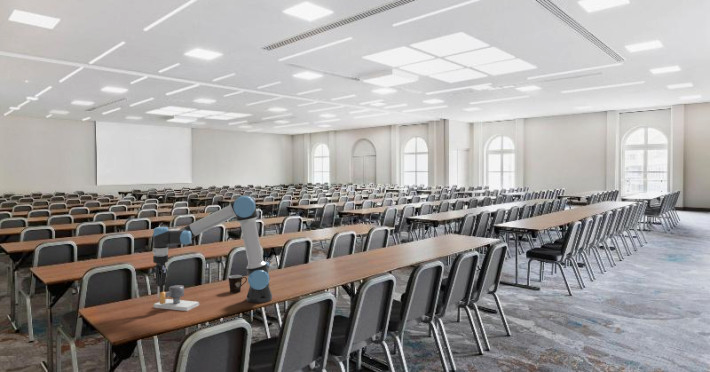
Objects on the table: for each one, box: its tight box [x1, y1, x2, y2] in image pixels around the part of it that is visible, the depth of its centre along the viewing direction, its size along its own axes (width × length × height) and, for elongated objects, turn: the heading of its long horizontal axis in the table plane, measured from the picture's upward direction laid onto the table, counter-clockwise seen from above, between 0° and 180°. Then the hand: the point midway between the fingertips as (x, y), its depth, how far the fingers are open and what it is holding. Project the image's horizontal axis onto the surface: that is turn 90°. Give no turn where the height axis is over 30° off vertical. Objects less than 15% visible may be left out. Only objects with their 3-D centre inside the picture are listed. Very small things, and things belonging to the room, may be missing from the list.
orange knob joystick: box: [158, 284, 185, 304], centre depth 248 cm, size 16×8×6 cm, turn 161°
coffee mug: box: [228, 274, 248, 294], centre depth 284 cm, size 12×9×10 cm
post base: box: [153, 297, 200, 312], centre depth 252 cm, size 22×11×6 cm, turn 74°
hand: (160, 297), depth 243 cm, fingers closed
